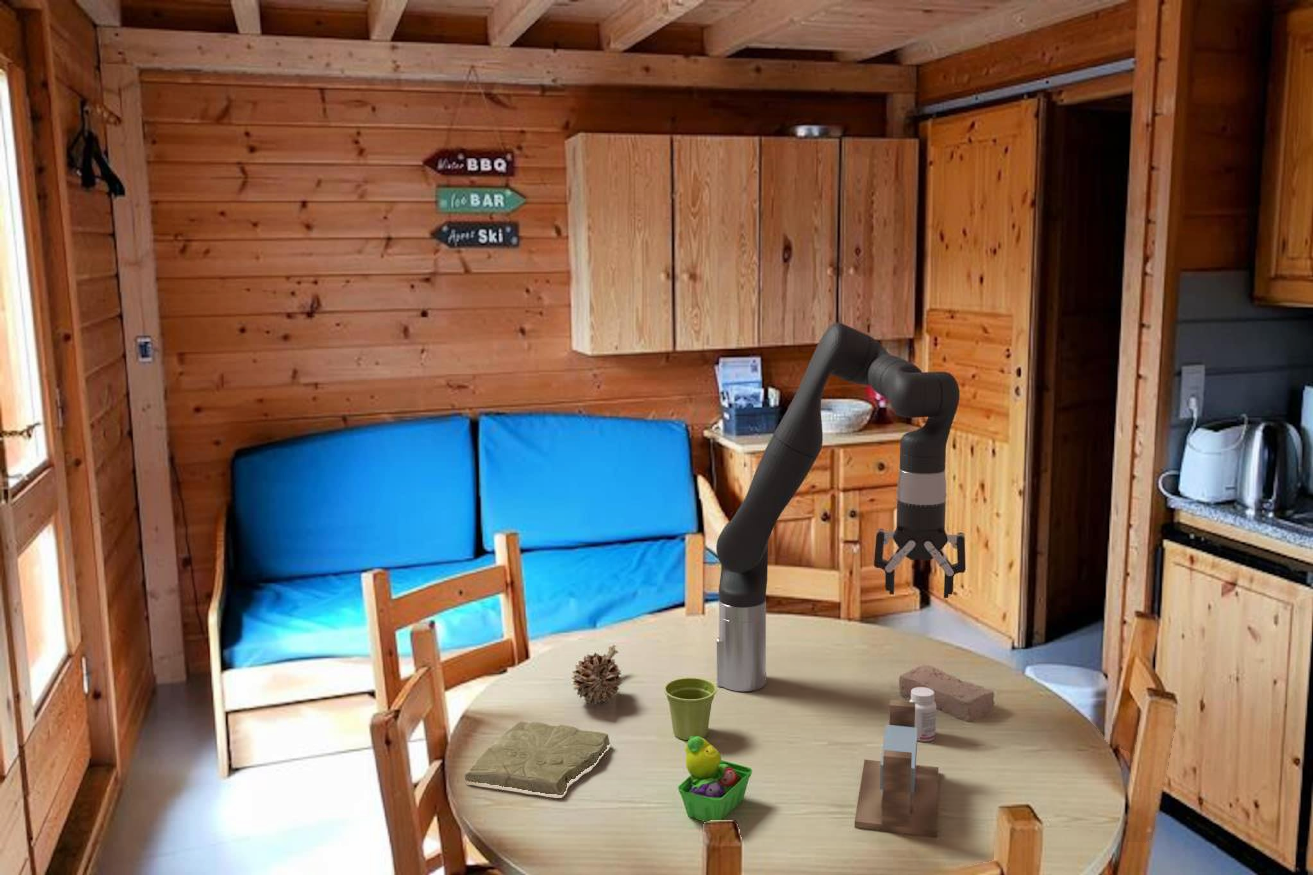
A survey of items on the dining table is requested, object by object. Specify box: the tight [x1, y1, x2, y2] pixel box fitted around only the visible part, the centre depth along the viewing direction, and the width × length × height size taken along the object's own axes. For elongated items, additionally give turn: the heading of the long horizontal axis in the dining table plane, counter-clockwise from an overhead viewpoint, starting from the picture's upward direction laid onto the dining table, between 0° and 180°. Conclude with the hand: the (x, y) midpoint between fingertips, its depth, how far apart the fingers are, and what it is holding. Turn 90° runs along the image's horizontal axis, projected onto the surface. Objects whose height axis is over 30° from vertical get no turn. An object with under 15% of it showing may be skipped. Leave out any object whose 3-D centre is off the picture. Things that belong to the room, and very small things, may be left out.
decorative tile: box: [464, 720, 611, 795], centre depth 185 cm, size 19×20×4 cm
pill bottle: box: [908, 687, 937, 743], centre depth 192 cm, size 5×5×8 cm
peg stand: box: [854, 699, 939, 838], centre depth 171 cm, size 12×20×12 cm, turn 165°
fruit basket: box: [677, 736, 753, 822], centre depth 170 cm, size 11×9×11 cm
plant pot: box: [663, 677, 718, 741], centre depth 195 cm, size 9×9×9 cm
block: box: [880, 724, 918, 793], centre depth 171 cm, size 5×14×4 cm, turn 165°
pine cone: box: [571, 644, 622, 706], centre depth 213 cm, size 22×10×10 cm, turn 175°
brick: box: [898, 664, 996, 723], centre depth 206 cm, size 17×8×5 cm, turn 39°
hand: (918, 594), depth 177 cm, fingers open, 8 cm apart
